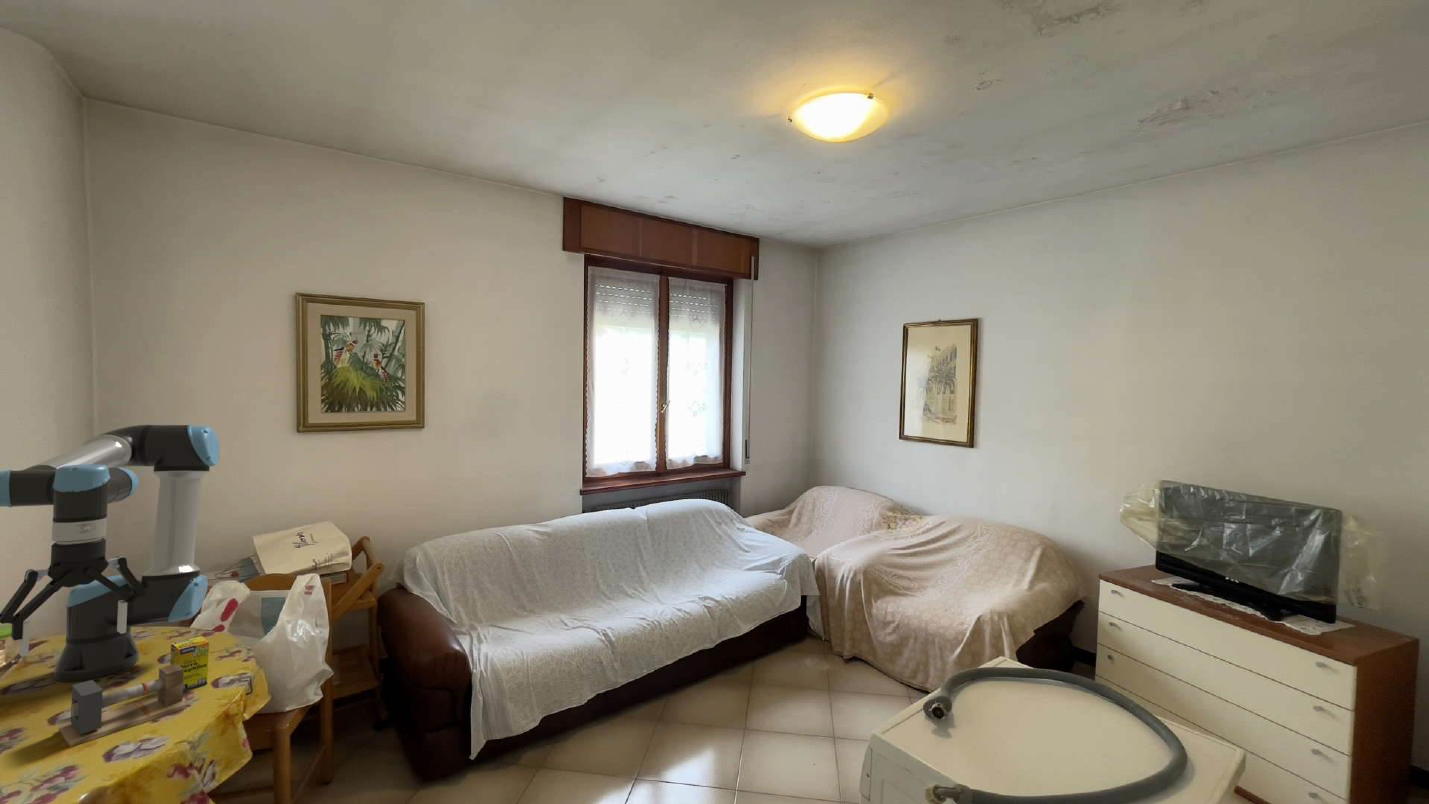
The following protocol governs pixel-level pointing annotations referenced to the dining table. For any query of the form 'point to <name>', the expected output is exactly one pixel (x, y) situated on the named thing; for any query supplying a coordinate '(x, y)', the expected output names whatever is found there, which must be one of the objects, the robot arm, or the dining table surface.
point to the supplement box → (191, 661)
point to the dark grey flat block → (87, 706)
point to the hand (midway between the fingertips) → (75, 642)
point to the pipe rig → (134, 706)
